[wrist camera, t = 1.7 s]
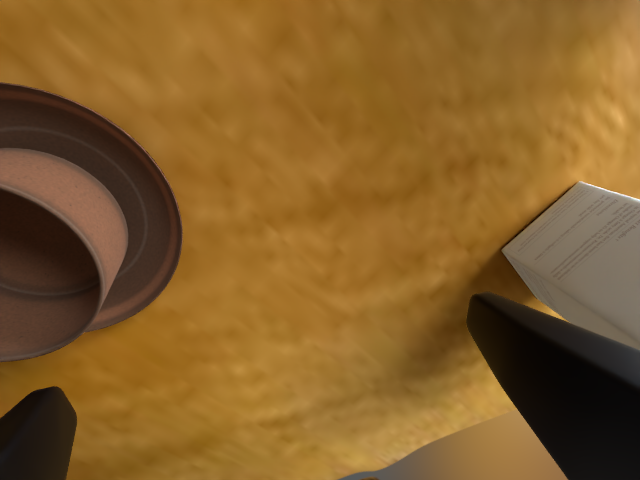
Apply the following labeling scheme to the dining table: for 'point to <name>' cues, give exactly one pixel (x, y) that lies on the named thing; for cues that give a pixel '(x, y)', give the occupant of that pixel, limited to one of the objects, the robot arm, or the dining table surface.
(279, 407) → the dining table surface
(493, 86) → the dining table surface
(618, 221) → the white packaging box
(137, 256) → the cup and saucer
